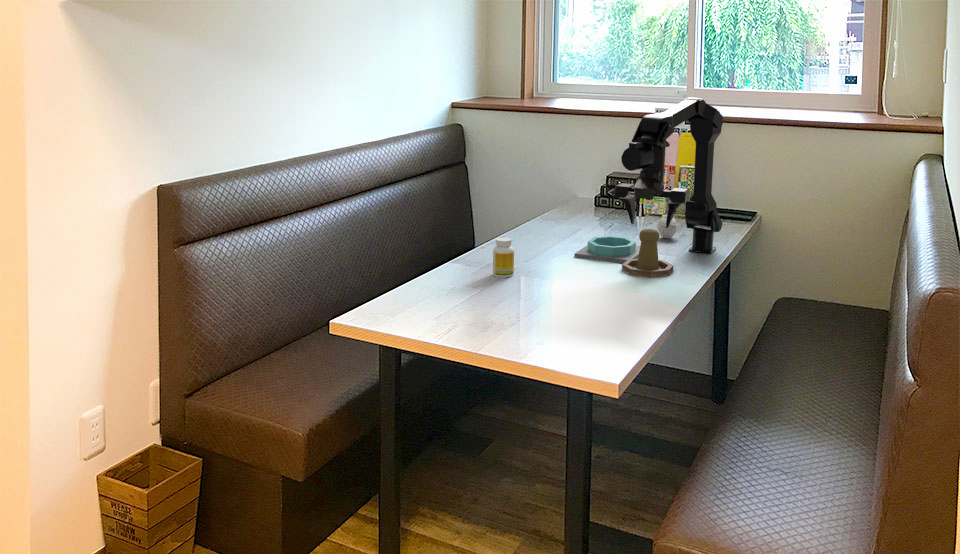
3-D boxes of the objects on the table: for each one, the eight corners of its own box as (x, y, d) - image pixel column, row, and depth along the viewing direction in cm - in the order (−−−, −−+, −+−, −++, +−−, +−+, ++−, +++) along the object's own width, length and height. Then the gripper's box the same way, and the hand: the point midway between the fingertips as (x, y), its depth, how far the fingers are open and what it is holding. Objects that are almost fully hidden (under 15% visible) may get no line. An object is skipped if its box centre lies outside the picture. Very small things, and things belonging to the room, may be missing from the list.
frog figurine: (675, 235, 273) (677, 213, 271) (678, 241, 266) (679, 218, 265) (655, 235, 274) (656, 212, 272) (657, 240, 267) (658, 217, 265)
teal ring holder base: (593, 244, 263) (594, 232, 262) (647, 250, 256) (647, 238, 255) (574, 257, 249) (574, 244, 248) (630, 263, 242) (630, 251, 241)
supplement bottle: (489, 273, 233) (489, 238, 230) (507, 271, 235) (508, 235, 233) (498, 279, 229) (499, 242, 226) (517, 276, 231) (517, 240, 228)
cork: (659, 274, 233) (661, 232, 230) (635, 272, 234) (637, 231, 231) (659, 267, 238) (661, 227, 235) (636, 266, 240) (638, 226, 237)
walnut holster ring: (631, 261, 244) (632, 256, 244) (676, 267, 239) (677, 261, 238) (617, 273, 234) (617, 267, 233) (664, 279, 228) (664, 273, 228)
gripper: (607, 167, 226) (605, 228, 230) (681, 173, 218) (677, 236, 222) (621, 161, 235) (619, 219, 240) (692, 166, 227) (688, 227, 232)
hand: (649, 225), depth 233 cm, fingers open, 9 cm apart
